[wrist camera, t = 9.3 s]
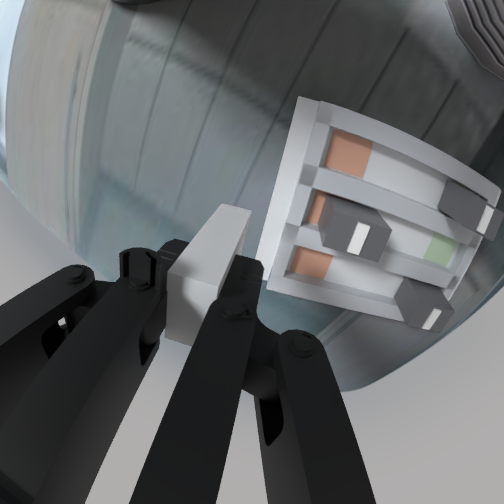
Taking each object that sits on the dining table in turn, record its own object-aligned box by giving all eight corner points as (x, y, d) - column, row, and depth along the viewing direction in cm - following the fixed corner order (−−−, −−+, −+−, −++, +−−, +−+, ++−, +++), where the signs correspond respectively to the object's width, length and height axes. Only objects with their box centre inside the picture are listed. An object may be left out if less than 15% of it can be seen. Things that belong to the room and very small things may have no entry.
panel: (253, 267, 25) (248, 284, 22) (297, 97, 18) (298, 94, 15) (430, 312, 25) (439, 328, 22) (492, 186, 17) (508, 194, 15)
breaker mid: (317, 223, 20) (322, 247, 17) (327, 193, 19) (335, 212, 15) (364, 237, 20) (378, 264, 16) (375, 209, 19) (393, 231, 15)
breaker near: (437, 206, 18) (463, 226, 14) (447, 179, 17) (475, 195, 13) (468, 222, 18) (494, 243, 14) (478, 197, 17) (506, 214, 13)
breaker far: (393, 296, 22) (406, 327, 19) (405, 275, 21) (422, 304, 17) (425, 304, 22) (440, 334, 18) (437, 284, 21) (455, 312, 17)
